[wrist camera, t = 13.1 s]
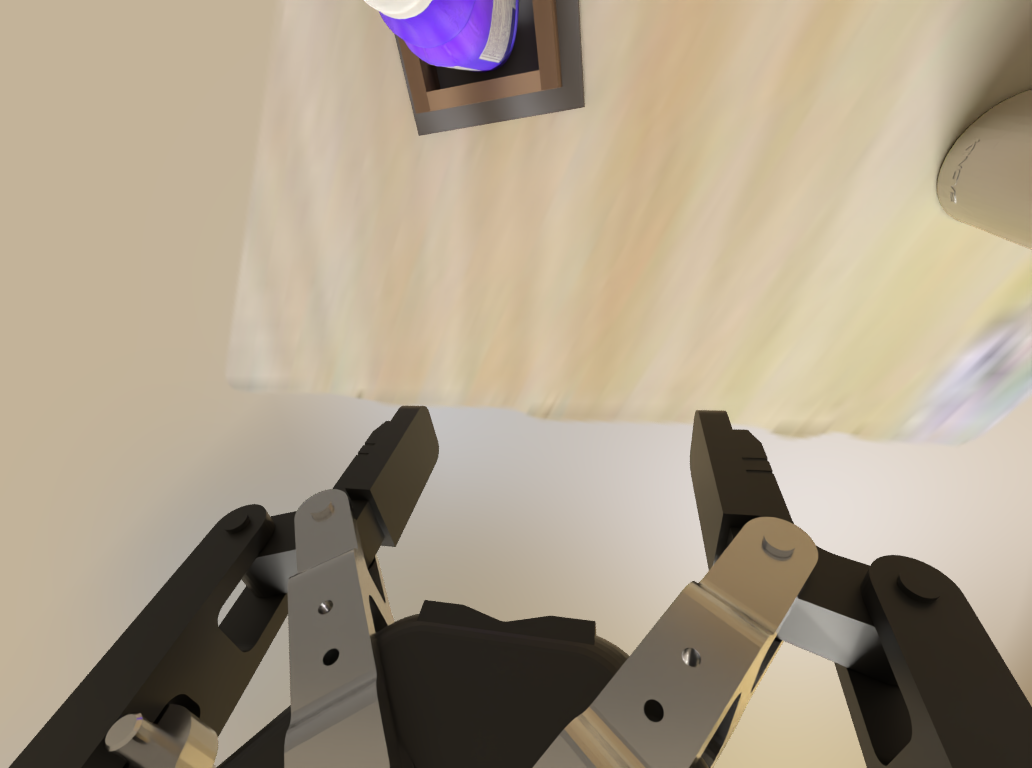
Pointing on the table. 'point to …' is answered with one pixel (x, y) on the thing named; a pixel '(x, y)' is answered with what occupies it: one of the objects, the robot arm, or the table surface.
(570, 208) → the table surface
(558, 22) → the open box
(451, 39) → the bottle
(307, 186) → the table surface
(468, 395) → the table surface
